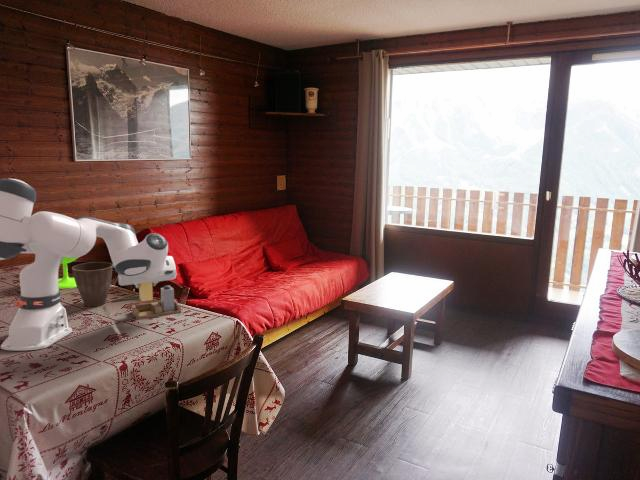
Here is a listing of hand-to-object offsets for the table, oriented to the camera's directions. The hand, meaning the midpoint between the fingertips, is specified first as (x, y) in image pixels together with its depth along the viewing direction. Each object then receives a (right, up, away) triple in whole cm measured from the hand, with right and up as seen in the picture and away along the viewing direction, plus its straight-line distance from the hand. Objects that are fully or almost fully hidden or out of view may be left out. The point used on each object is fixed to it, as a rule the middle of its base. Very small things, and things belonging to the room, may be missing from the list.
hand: (145, 285), depth 178 cm
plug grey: (+7, -11, +6) cm, 14 cm away
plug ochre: (0, -5, 0) cm, 5 cm away
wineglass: (-52, -4, +41) cm, 66 cm away
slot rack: (+3, -12, +4) cm, 13 cm away
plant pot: (-26, -9, +15) cm, 32 cm away
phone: (-13, -9, +19) cm, 25 cm away
